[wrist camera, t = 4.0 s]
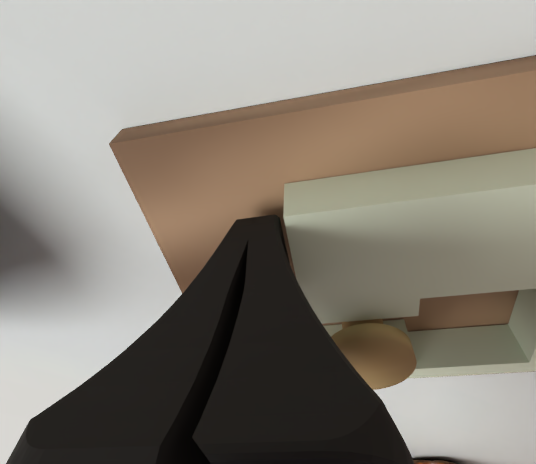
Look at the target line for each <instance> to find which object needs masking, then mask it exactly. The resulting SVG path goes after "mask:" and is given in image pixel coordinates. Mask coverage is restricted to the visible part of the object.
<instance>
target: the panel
mask: <svg viewBox="0 0 536 464" xmlns="http://www.w3.org/2000/svg"><path fill="white" fill-rule="evenodd" d="M283 217H284V222H285V227H286V232H287V237H288V241H289V246H290V251H291V256H292V261H293V265H294V270H295V275H296V279H297V281H298V283H299V285H300V287H301V289H302V291H303V293H304V295H305V297H306V299H307V300H308V302H309V304H310V306H311V307H312V309H313V311H314V312H315V314H316V315H317V317H318V319H319V320H320V322H321V323H322V324H324V323H336V322H349V321H361V320H374V319H386V318H399V317H411V316H418V315H419V304H420V299H422V298H434V297H445V296H457V295H468V294H480V293H491V292H502V291H514V290H519V292H518V295H517V298H516V301H515V304H514V308H513V311H512V314H511V317H510V320H509V323H508V324H505V325H492V326H478V327H465V328H451V329H438V330H424V331H411V332H408V331H407V328H406V324H405V321H404V319H400V320H387V321H383V324H386V325H390V326H393V327H396V328H398V329H400V330H401V331H403V332H404V333H405V334H407V336H408V337H409V338H410V340H411V344H412V347H413V350H414V354H415V357H416V361H417V364H416V368H415V370H414V372H413V373H412V374H411V375H410V376H409V377H408V378H425V377H443V376H462V375H480V374H498V373H516V372H534V371H536V148H532V149H525V150H518V151H511V152H504V153H497V154H490V155H483V156H476V157H469V158H462V159H455V160H448V161H441V162H434V163H427V164H420V165H413V166H406V167H399V168H392V169H385V170H378V171H371V172H364V173H357V174H350V175H343V176H335V177H328V178H321V179H314V180H307V181H300V182H293V183H286V184H284V211H283ZM324 328H325V329H326V331H327V332H328V333H329V335H330V336H332V335H333V334H335V333H336V332H338V331H340V330H342V324H337V325H325V326H324Z"/></svg>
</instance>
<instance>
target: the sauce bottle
mask: <svg viewBox="0 0 536 464" xmlns="http://www.w3.org/2000/svg"><path fill="white" fill-rule="evenodd" d="M413 462H414V464H455V463H452V462H448V461H443V460H435V461H429V460H413Z"/></svg>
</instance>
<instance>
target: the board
mask: <svg viewBox="0 0 536 464" xmlns="http://www.w3.org/2000/svg"><path fill="white" fill-rule="evenodd" d="M109 145H110V147H111V149H112V151H113V153H114V155H115V157H116V159H117V161H118V163H119V165H120V167H121V169H122V171H123V173H124V175H125V178H126V180H127V182H128V184H129V186H130V188H131V190H132V192H133V194H134V196H135V198H136V200H137V202H138V204H139V206H140V208H141V210H142V212H143V214H144V216H145V218H146V220H147V222H148V224H149V226H150V228H151V230H152V232H153V235H154V237H155V239H156V241H157V243H158V245H159V247H160V249H161V251H162V253H163V255H164V257H165V259H166V261H167V263H168V265H169V267H170V269H171V271H172V273H173V275H174V277H175V279H176V281H177V283H178V285H179V287H180V289H181V292H182V294H183V292H184V291H185V290H186V289H187V287H188V286H189V285H190V284H191V282H192V281H193V280H194V279H195V277H196V276H197V275H198V274H199V272H200V271H201V270H202V268H203V267H204V266H205V264H206V263H207V261H208V260H209V259H210V257H211V256H212V254H213V253H214V252H215V250H216V249H217V247H218V246H219V244H220V243H221V241H222V240H223V238H224V237H225V235H226V234H227V232H228V231H229V229H230V228H231V226H232V225H233V223H234V222H235V221H236V220H237V219H244V218H252V217H259V216H267V215H277V216H278V217H280V221H281V226H282V230H283V235H284V239H285V244H286V249H287V253H288V258H289V262H290V266H291V268H292V271H293V273H294V275H295V270H294V265H293V261H292V256H291V251H290V246H289V241H288V237H287V232H286V227H285V222H284V217H283V211H284V184H286V183H293V182H300V181H307V180H314V179H321V178H328V177H335V176H343V175H350V174H357V173H364V172H371V171H378V170H385V169H392V168H399V167H406V166H413V165H420V164H427V163H434V162H441V161H448V160H455V159H462V158H469V157H476V156H483V155H490V154H497V153H504V152H511V151H518V150H525V149H532V148H536V55H535V56H530V57H524V58H519V59H513V60H507V61H502V62H496V63H491V64H485V65H479V66H474V67H468V68H463V69H457V70H451V71H446V72H440V73H435V74H429V75H423V76H418V77H412V78H407V79H401V80H395V81H390V82H384V83H378V84H373V85H367V86H362V87H356V88H350V89H345V90H339V91H334V92H328V93H322V94H317V95H311V96H306V97H300V98H294V99H289V100H283V101H278V102H272V103H266V104H261V105H255V106H250V107H244V108H238V109H233V110H227V111H221V112H216V113H210V114H205V115H199V116H193V117H188V118H182V119H177V120H171V121H165V122H160V123H154V124H149V125H143V126H137V127H132V128H126V129H122V130H121V131H120V132H119V133H118V134H117V135H116V137H115V138H114V139H113V140H112V141H111V142H110V143H109ZM295 277H296V275H295ZM518 292H519V290H514V291H502V292H491V293H480V294H468V295H457V296H445V297H434V298H422V299H420V304H419V315H418V316H411V317H399V318H386V319H374V320H361V321H349V322H336V323H324V324H322V325H323V326H325V325H337V324H342V330H340V331H338V332H336V333H335V334H333V335H332V336H331V338H332V339H333V340H334V342H335V343H336V345H337V346H338V348H339V349H340V350H341V352H342V353H343V354H344V356H345V357H346V358H347V359H348V361H349V362H350V363H351V364H352V366H353V367H354V368H355V370H356V371H357V372H358V373H359V374H360V376H361V377H362V378H363V379H364V380H365V382H366V383H367V384H368V385H369V386H370V387H371V389H372V390H374V389H382V388H386V387H390V386H393V385H396V384H398V383H400V382H402V381H404V380H405V379H407V378H408V377H409V376H410V375H411V374H412V373H413V372H414V370H415V368H416V364H417V361H416V357H415V354H414V350H413V347H412V344H411V340H410V338H409V337H408V336H407V334H405V333H404V332H403V331H401V330H400V329H398V328H396V327H393V326H390V325H386V324H383V321H387V320H400V319H404V321H405V324H406V328H407V331H408V332H411V331H424V330H438V329H451V328H465V327H478V326H492V325H505V324H508V323H509V320H510V317H511V314H512V311H513V308H514V304H515V301H516V298H517V295H518Z"/></svg>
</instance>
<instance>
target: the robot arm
mask: <svg viewBox="0 0 536 464" xmlns="http://www.w3.org/2000/svg"><path fill="white" fill-rule="evenodd" d="M6 464H414V462H413V459H412V457H411V454H410V452H409V450H408V448H407V446H406V444H405V442H404V440H403V438H402V436H401V434H400V432H399V430H398V429H397V427H396V425H395V423H394V421H393V420H392V418H391V416H390V414H389V413H388V411H387V409H386V407H385V405H384V403H383V401H382V400H381V399H380V398H379V396H378V395H377V394H376V393H375V392H374V391H373V390H372V389H371V387H370V386H369V385H368V384H367V383H366V382H365V380H364V379H363V378H362V377H361V376H360V374H359V373H358V372H357V371H356V370H355V368H354V367H353V366H352V364H351V363H350V362H349V361H348V359H347V358H346V357H345V356H344V354H343V353H342V352H341V350H340V349H339V348H338V346H337V345H336V343H335V342H334V340H333V339H332V338H331V336H330V335H329V333H328V332H327V331H326V329H325V328H324V326H323V325H322V323H321V322H320V320H319V319H318V317H317V315H316V314H315V312H314V311H313V309H312V307H311V306H310V304H309V302H308V300H307V299H306V297H305V295H304V293H303V291H302V289H301V287H300V285H299V283H298V281H297V279H296V277H295V275H294V273H293V271H292V268H291V266H290V262H289V258H288V253H287V249H286V244H285V239H284V235H283V230H282V226H281V221H280V217H278V216H277V215H267V216H259V217H252V218H244V219H237V220H236V221H235V222H234V223H233V225H232V226H231V228H230V229H229V231H228V232H227V234H226V235H225V237H224V238H223V240H222V241H221V243H220V244H219V246H218V247H217V249H216V250H215V252H214V253H213V254H212V256H211V257H210V259H209V260H208V261H207V263H206V264H205V266H204V267H203V268H202V270H201V271H200V272H199V274H198V275H197V276H196V277H195V279H194V280H193V281H192V282H191V284H190V285H189V286H188V287H187V289H186V290H185V291H184V292H183V294H182V295H181V296H180V297H179V298H178V299H177V301H176V302H175V303H174V304H173V305H172V306H171V307H170V308H169V309H168V310H167V311H166V312H165V313H164V314H163V315H162V316H161V318H160V319H159V320H158V321H157V322H155V323H154V324H153V325H152V326H151V327H150V328H149V329H148V330H147V331H146V332H145V333H144V334H142V335H141V336H140V337H139V338H138V339H137V340H136V341H135V342H134V343H133V344H131V345H130V346H129V347H128V348H127V349H126V350H125V351H124V352H122V353H121V354H120V355H119V356H118V357H116V358H115V359H114V360H113V361H111V362H110V363H109V364H108V365H107V366H105V367H104V368H103V369H101V370H100V371H99V372H97V373H96V374H95V375H94V376H92V377H91V378H90V379H88V380H87V381H86V382H84V383H83V384H82V385H80V386H79V387H78V388H76V389H75V390H73V391H72V392H70V393H69V394H67V395H66V396H65V397H63V398H62V399H60V400H59V401H57V402H56V403H54V404H53V405H52V406H50V407H49V408H47V409H46V410H44V411H43V412H41V413H40V414H38V415H37V416H35V417H34V418H32V419H31V420H30V421H29V423H28V425H27V426H26V428H25V430H24V432H23V434H22V436H21V437H20V439H19V441H18V443H17V445H16V447H15V448H14V450H13V452H12V454H11V456H10V458H9V459H8V461H7V463H6Z"/></svg>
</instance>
